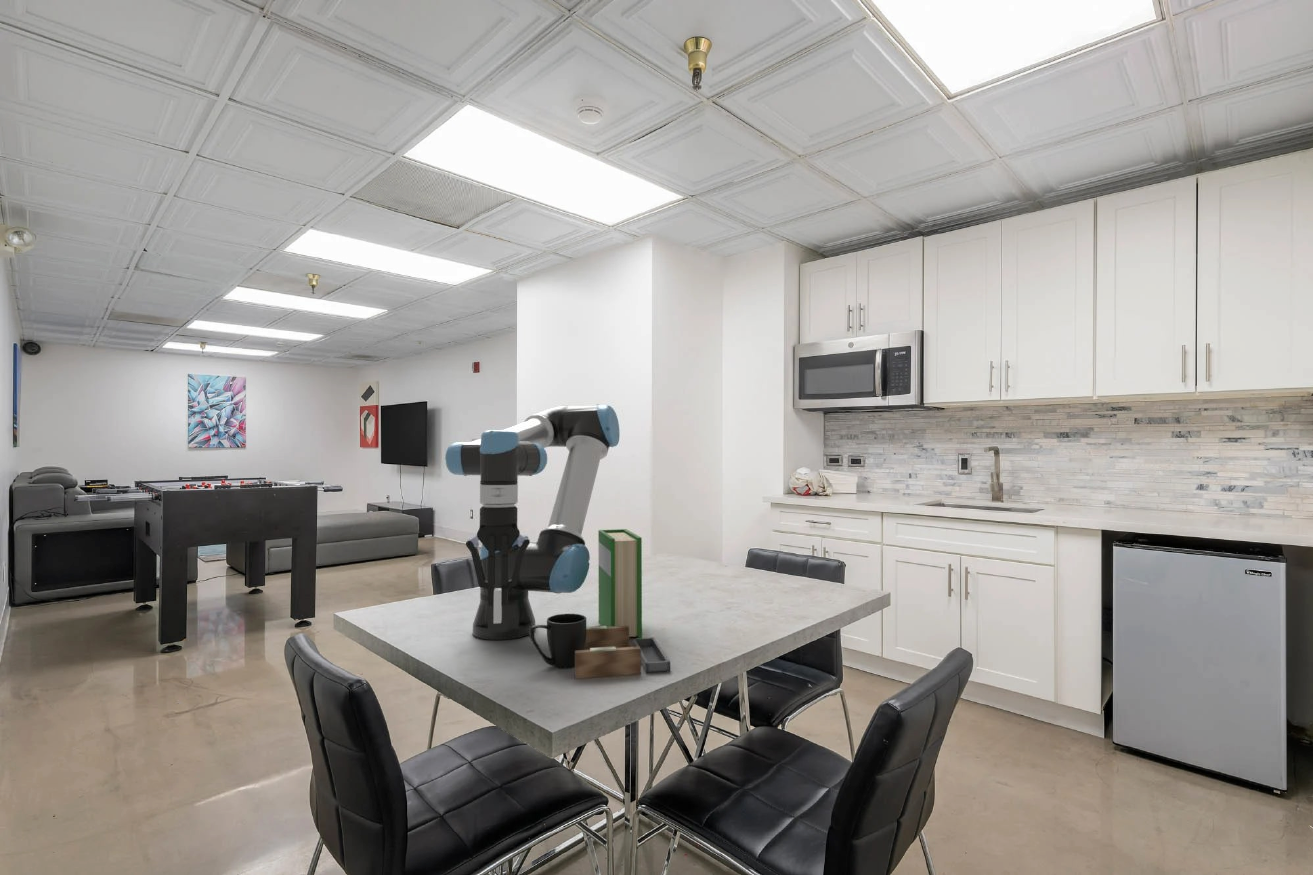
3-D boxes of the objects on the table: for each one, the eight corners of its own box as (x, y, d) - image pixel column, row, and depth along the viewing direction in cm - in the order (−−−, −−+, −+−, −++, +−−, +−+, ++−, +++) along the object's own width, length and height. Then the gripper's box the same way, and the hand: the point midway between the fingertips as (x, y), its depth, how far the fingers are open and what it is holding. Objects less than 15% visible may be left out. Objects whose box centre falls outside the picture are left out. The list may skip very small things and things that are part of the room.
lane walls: (575, 678, 122) (575, 651, 122) (570, 651, 139) (570, 627, 139) (641, 673, 124) (640, 647, 124) (628, 647, 141) (627, 624, 141)
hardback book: (641, 639, 148) (641, 537, 148) (611, 641, 146) (610, 538, 146) (626, 620, 165) (626, 529, 165) (598, 622, 163) (598, 530, 163)
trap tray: (645, 673, 125) (645, 663, 125) (632, 647, 141) (632, 638, 141) (670, 671, 126) (670, 661, 126) (654, 646, 142) (654, 637, 142)
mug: (524, 664, 131) (524, 618, 131) (579, 655, 136) (578, 611, 136) (534, 676, 123) (534, 628, 123) (592, 667, 129) (592, 620, 129)
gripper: (463, 507, 123) (462, 628, 122) (531, 506, 126) (530, 624, 125) (467, 504, 130) (466, 618, 129) (531, 503, 133) (530, 615, 132)
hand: (497, 621), depth 127 cm, fingers closed
